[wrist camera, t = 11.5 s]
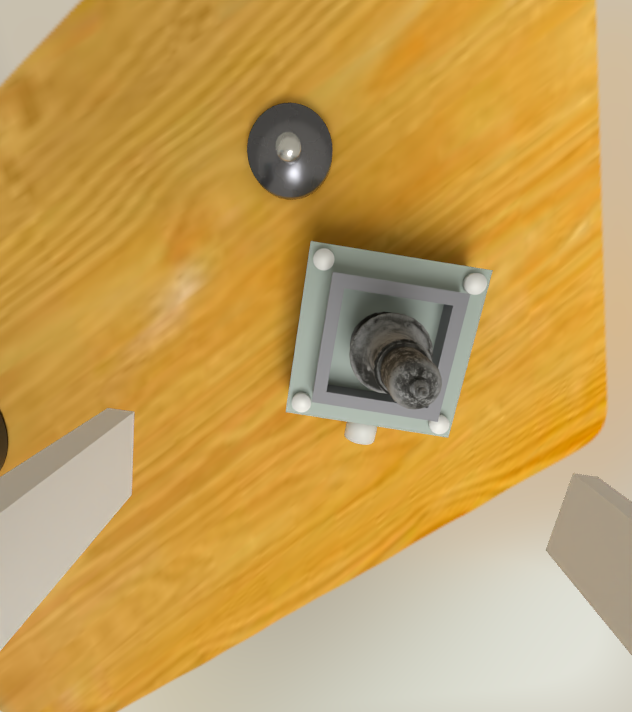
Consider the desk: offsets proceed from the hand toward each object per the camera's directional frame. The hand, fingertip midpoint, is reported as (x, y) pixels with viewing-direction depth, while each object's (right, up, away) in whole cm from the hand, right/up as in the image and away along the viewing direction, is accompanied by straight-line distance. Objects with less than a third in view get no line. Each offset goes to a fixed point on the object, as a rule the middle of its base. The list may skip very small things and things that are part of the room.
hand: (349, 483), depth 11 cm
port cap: (-3, +21, +19) cm, 29 cm away
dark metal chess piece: (+4, +5, +18) cm, 19 cm away
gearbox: (+4, +5, +23) cm, 24 cm away
